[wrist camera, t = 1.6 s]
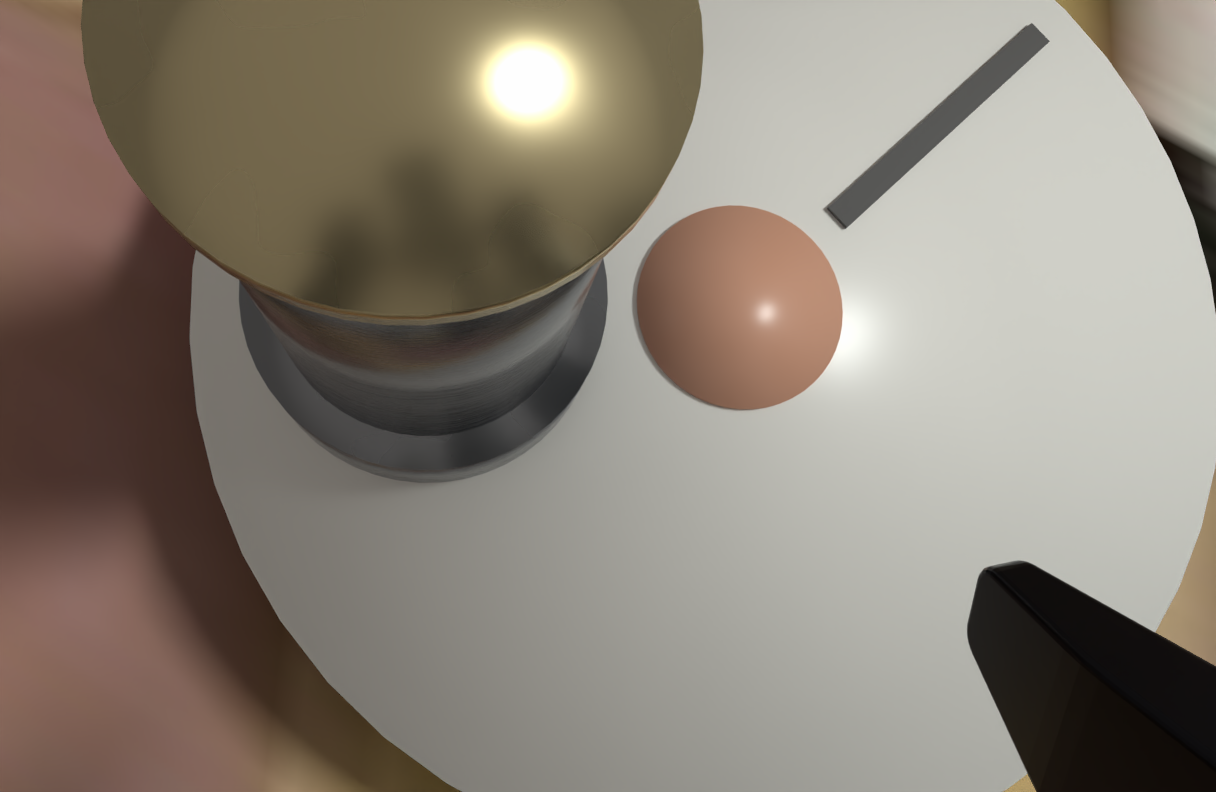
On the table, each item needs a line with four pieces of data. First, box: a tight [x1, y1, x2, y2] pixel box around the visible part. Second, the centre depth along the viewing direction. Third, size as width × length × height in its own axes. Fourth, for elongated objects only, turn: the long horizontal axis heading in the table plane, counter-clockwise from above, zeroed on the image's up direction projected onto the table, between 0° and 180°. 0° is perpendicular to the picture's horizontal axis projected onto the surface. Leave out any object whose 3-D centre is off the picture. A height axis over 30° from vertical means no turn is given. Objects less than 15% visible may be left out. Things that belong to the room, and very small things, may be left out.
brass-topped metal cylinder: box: [81, 0, 704, 483], centre depth 16 cm, size 7×7×11 cm
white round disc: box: [189, 0, 1216, 792], centre depth 22 cm, size 22×22×1 cm
